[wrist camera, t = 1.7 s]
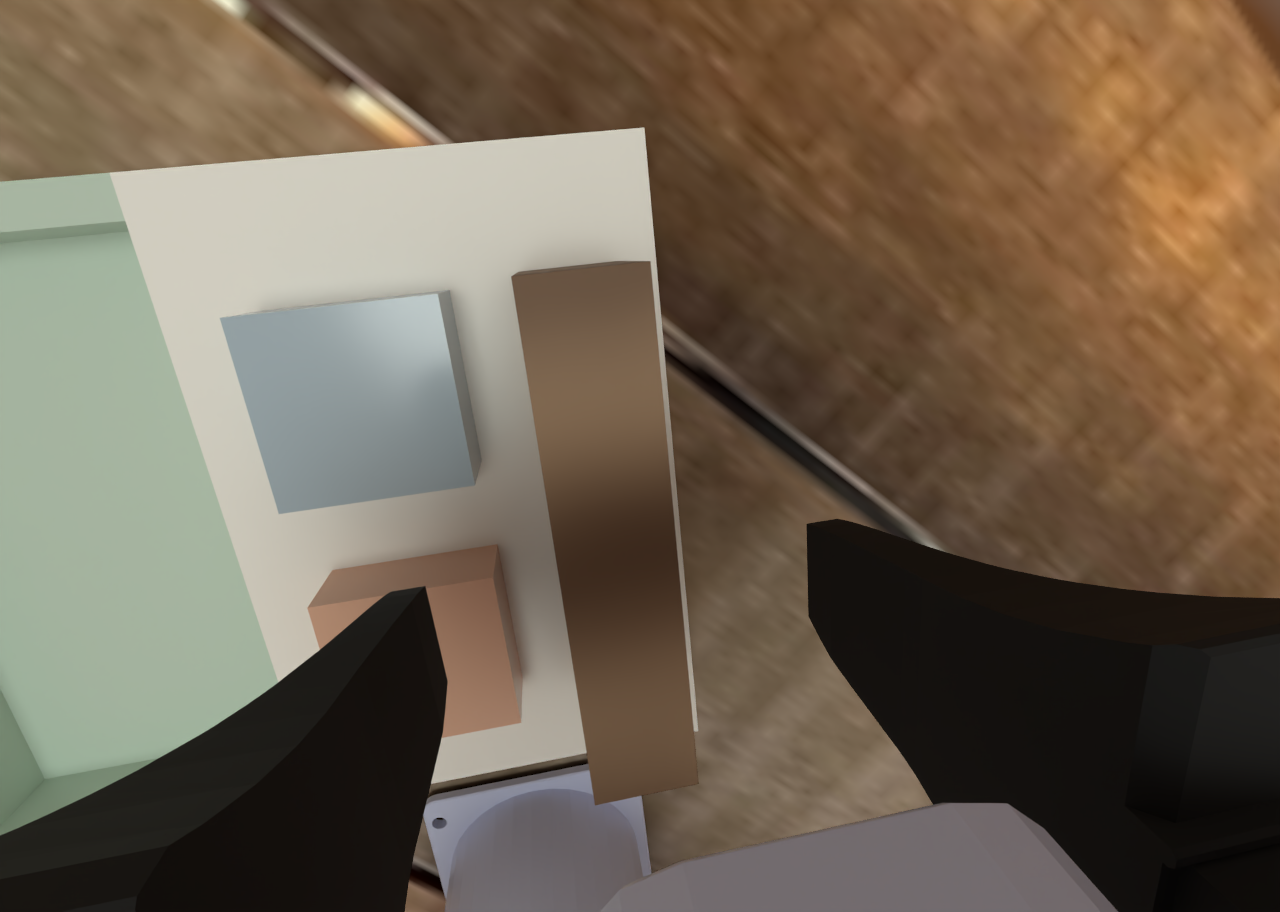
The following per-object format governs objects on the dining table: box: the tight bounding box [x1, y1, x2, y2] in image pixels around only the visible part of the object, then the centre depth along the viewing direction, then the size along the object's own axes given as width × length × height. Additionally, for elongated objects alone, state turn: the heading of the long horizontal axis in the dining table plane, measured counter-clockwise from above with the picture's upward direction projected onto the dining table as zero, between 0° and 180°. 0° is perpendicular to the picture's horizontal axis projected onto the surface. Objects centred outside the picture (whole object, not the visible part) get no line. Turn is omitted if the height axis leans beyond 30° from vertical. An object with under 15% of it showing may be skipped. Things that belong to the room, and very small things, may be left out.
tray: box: [0, 173, 278, 835], centre depth 18 cm, size 18×10×3 cm, turn 6°
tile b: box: [220, 290, 482, 514], centre depth 15 cm, size 4×4×2 cm
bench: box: [110, 128, 698, 784], centre depth 19 cm, size 18×12×3 cm, turn 6°
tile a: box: [307, 544, 523, 738], centre depth 17 cm, size 4×4×2 cm
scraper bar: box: [511, 261, 699, 805], centre depth 15 cm, size 12×2×5 cm, turn 6°
